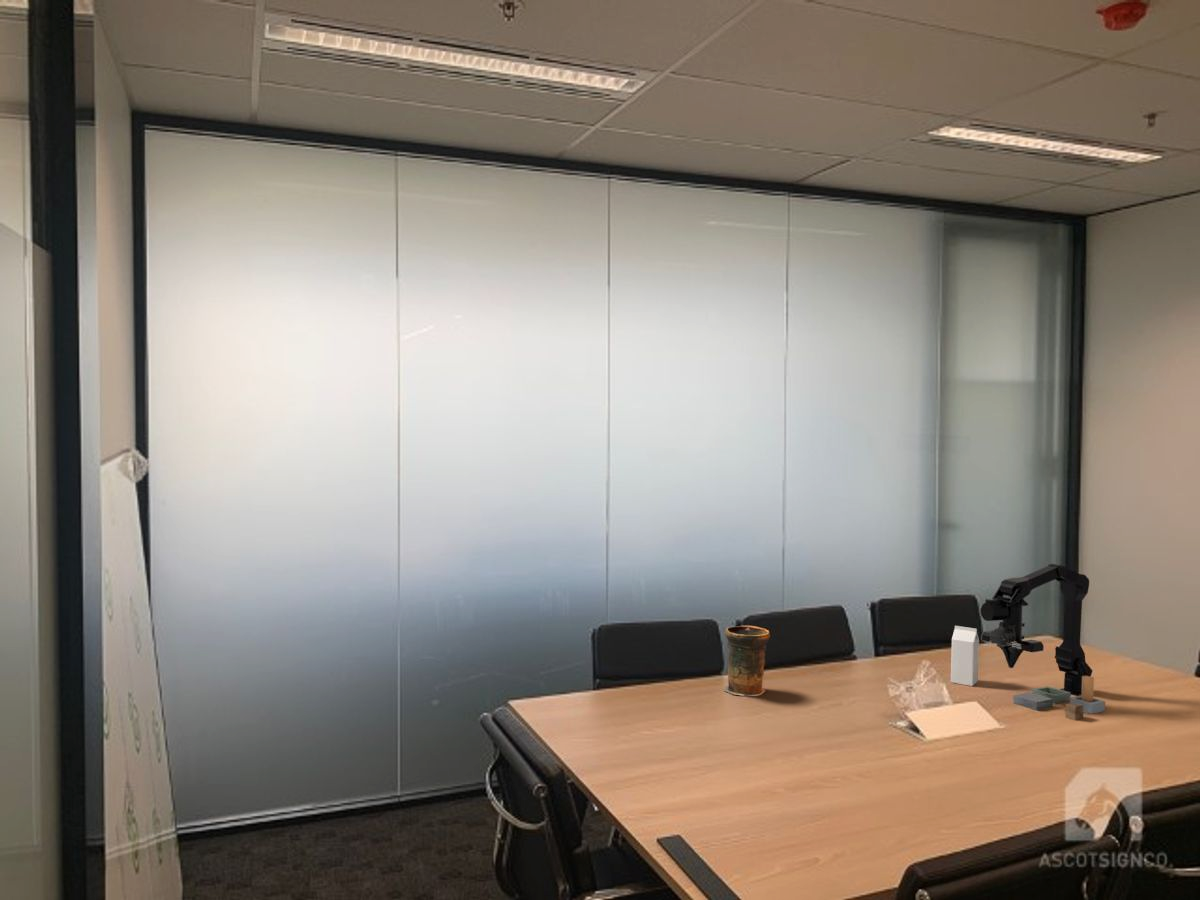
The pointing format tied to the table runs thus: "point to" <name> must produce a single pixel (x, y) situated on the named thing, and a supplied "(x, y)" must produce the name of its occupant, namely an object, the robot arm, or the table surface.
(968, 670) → the milk carton
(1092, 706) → the socket block
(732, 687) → the vessel
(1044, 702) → the grey slab
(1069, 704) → the block
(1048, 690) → the tray
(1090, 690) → the dowel
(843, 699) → the table surface
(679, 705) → the table surface
